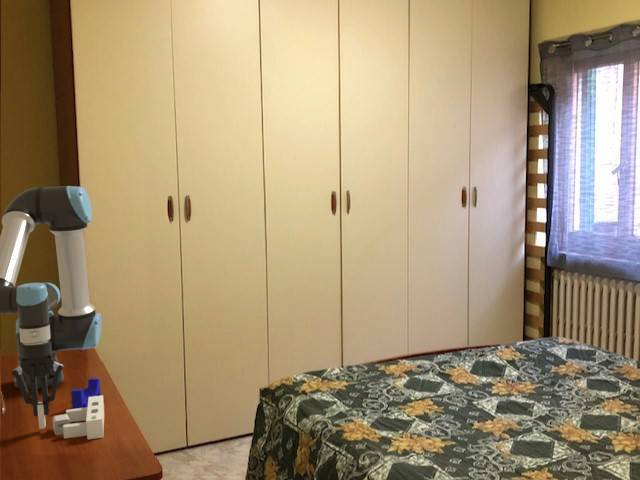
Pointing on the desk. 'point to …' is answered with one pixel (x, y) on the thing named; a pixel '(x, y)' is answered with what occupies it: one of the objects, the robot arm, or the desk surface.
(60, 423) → the usb wall charger
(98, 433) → the dock
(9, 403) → the desk surface
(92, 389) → the cable clip
